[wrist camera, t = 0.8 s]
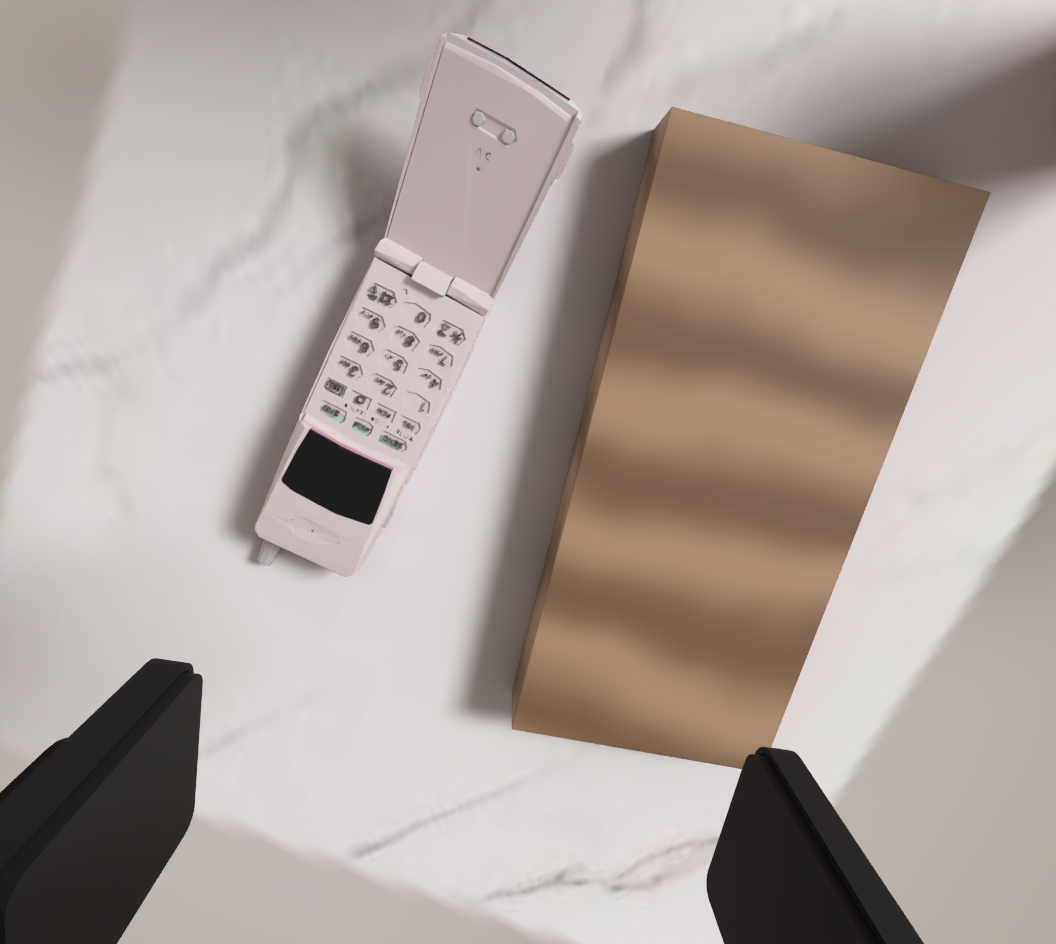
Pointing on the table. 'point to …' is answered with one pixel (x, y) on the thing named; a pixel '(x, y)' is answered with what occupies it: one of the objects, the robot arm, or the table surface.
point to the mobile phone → (418, 301)
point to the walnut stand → (732, 434)
